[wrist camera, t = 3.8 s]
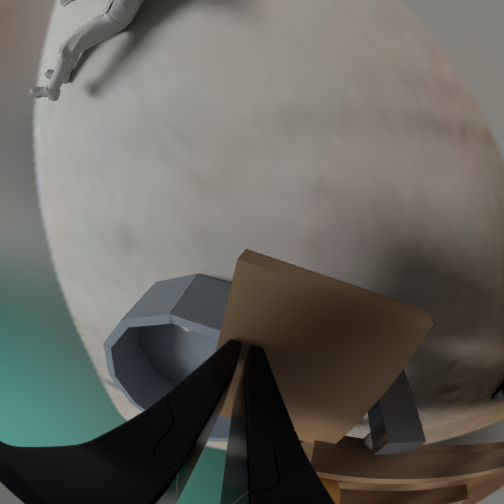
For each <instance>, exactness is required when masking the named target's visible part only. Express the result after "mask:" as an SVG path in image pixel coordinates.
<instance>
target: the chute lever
mask: <svg viewBox="0 0 504 504" xmlns="http://www.w3.org/2000/svg"><path fill="white" fill-rule="evenodd" d="M433 325H434V323H433V321H432V319H431V317H430V315H429V313H428V311H427V310H425V309H422V308H419V307H416V306H413V305H410V304H408V303H405V302H402V301H399V300H396V299H393V298H390V297H387V296H384V295H381V294H378V293H375V292H372V291H369V290H366V289H363V288H360V287H357V286H354V285H352V284H349V283H346V282H343V281H340V280H337V279H334V278H331V277H328V276H325V275H322V274H319V273H316V272H313V271H310V270H307V269H304V268H301V267H298V266H295V265H292V264H289V263H286V262H284V261H281V260H278V259H275V258H272V257H269V256H266V255H263V254H260V253H257V252H254V251H251V250H248V249H246V250H245V251H244V252H243V253H242V254H241V256H240V257H239V258H238V260H237V264H236V268H235V272H234V276H233V281H232V285H231V289H230V293H229V297H228V301H227V306H226V310H225V314H224V318H223V323H222V327H221V331H220V335H219V340H218V344H217V348H216V351H217V350H218V349H219V348H220V347H221V346H223V345H224V344H225V343H226V342H227V341H228V340H229V339H234V340H238V341H241V342H242V348H241V352H240V356H239V360H238V364H237V367H236V370H235V373H234V376H233V379H232V382H231V386H230V389H229V392H228V395H227V398H226V401H225V404H224V406H223V408H222V411H221V413H220V415H222V416H224V417H227V418H230V419H231V414H232V407H233V402H234V398H235V395H236V391H237V387H238V384H239V380H240V376H241V373H242V369H243V365H244V362H245V359H246V356H247V353H248V350H249V347H250V345H256V346H260V347H262V348H263V349H264V351H265V354H266V356H267V359H268V362H269V364H270V367H271V369H272V372H273V375H274V377H275V380H276V382H277V385H278V388H279V390H280V393H281V395H282V398H283V400H284V403H285V406H286V408H287V411H288V413H289V416H290V418H291V421H292V423H293V426H294V428H295V430H294V431H296V433H297V435H298V438H299V440H301V441H303V442H302V443H301V445H302V447H303V449H304V451H305V454H306V456H307V457H308V459H309V461H310V463H311V465H312V467H313V468H314V470H315V472H316V473H317V475H318V477H319V478H326V479H333V480H336V481H337V482H338V485H339V487H340V492H341V498H340V503H339V504H457V503H461V502H462V504H476V503H478V502H479V501H481V500H483V499H484V498H486V497H487V496H489V495H491V494H492V493H494V492H495V491H497V490H498V489H500V488H501V487H503V486H504V442H496V443H486V444H475V445H474V444H473V445H421V446H419V447H418V448H417V449H416V450H414V451H413V452H412V453H404V454H383V455H374V453H373V445H372V438H371V432H370V433H369V434H368V435H367V436H366V437H365V438H363V439H361V438H355V437H349V436H345V435H346V434H347V433H348V432H349V431H350V430H351V429H352V428H353V427H354V426H355V425H356V424H357V423H358V422H359V421H360V420H361V419H362V418H363V416H364V415H365V414H366V413H367V412H368V411H369V410H370V409H371V408H372V407H373V406H374V404H375V403H376V402H377V401H378V400H379V399H380V398H381V396H382V395H383V394H384V393H385V392H386V390H387V389H388V388H389V387H390V386H391V384H392V383H393V382H394V381H395V379H396V378H397V377H398V375H399V374H400V373H401V372H402V370H403V369H404V368H405V366H406V365H407V364H408V362H409V361H410V359H411V358H412V357H413V355H414V354H415V352H416V351H417V349H418V348H419V347H420V345H421V344H422V342H423V341H424V339H425V338H426V336H427V334H428V333H429V331H430V330H431V328H432V327H433Z"/></svg>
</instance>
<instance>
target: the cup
mask: <svg viewBox="0 0 504 504" xmlns="http://www.w3.org/2000/svg"><path fill="white" fill-rule="evenodd" d="M231 285H232V284H230V283H227V282H223V281H220V280H217V279H213V278H210V277H207V276H204V275H200V274H195V275H190V276H185V277H180V278H175V279H170V280H165V281H160V282H156V283H155V284H154V285H153V286H152V287H151V288H150V289H149V290H148V291H147V292H146V293H145V294H144V296H143V297H142V298H141V299H140V300H139V301H138V302H137V303H136V304H135V305H134V307H133V308H132V309H131V310H130V311H129V312H128V313H127V314H126V316H125V317H124V318H123V319H122V320H121V321H120V323H119V324H118V325H117V326H116V328H115V329H114V330H113V332H112V333H111V334H110V336H109V337H108V338H107V339H106V341H105V342H104V350H105V355H106V361H107V366H108V371H109V375H110V376H111V378H112V379H113V380H114V382H115V383H116V384H117V386H118V387H119V388H120V390H121V391H122V392H123V394H124V395H125V396H126V397H127V399H128V400H129V401H130V402H131V404H133V405H134V406H135V407H137V408H138V409H139V410H141V411H142V412H143V411H145V410H146V409H147V408H149V407H150V406H151V405H153V404H154V403H155V402H157V401H158V400H159V399H160V398H162V397H163V396H165V394H167V393H168V392H169V391H170V390H171V389H173V388H174V387H175V386H176V385H177V384H179V383H180V382H181V381H182V380H183V379H185V378H186V377H187V376H188V375H189V374H190V373H192V372H193V371H194V370H195V369H196V368H197V367H199V366H200V365H201V364H202V363H203V362H204V361H206V360H207V359H208V358H209V357H210V356H211V355H212V354H214V353H215V352H216V348H217V344H218V340H219V335H220V331H221V327H222V323H223V318H224V314H225V310H226V306H227V301H228V297H229V293H230V289H231ZM230 422H231V419H230V418H227V417H224V416H222V415H219V417H218V419H217V421H216V424H215V426H214V428H213V430H212V432H211V434H210V436H209V439H208V441H224V442H228V438H229V430H230Z"/></svg>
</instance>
